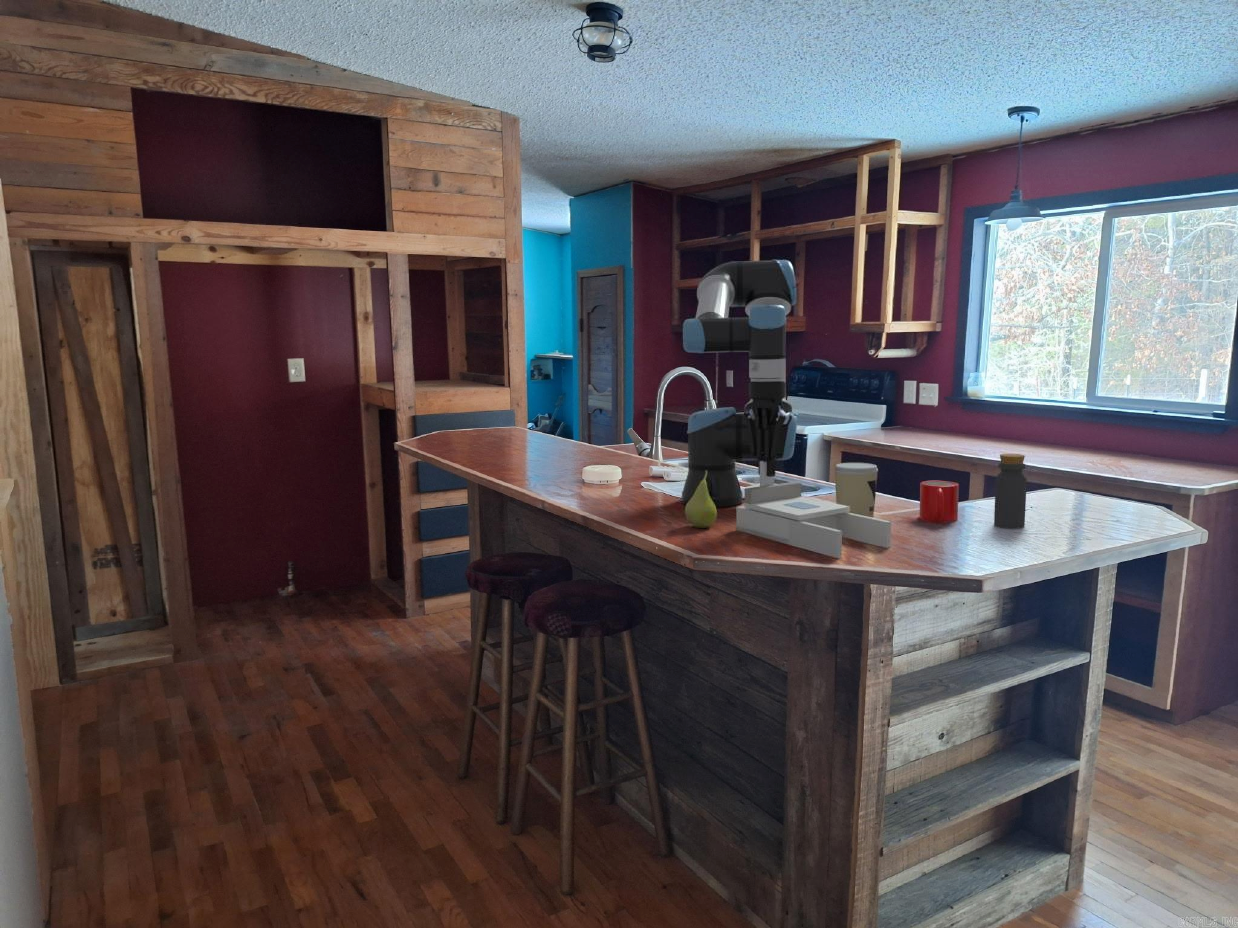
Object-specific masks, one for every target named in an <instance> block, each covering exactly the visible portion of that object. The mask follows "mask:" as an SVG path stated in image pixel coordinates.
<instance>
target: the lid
mask: <svg viewBox="0 0 1238 928" xmlns="http://www.w3.org/2000/svg"><path fill="white" fill-rule="evenodd" d="M744 506H745V508H749V509H753V510H757V511H761V512H765V513H769V514H774V515H778V516H782V517H786V518H790V519H794V520H804V519H809V518H815V517H821V516H827V515H833V514H838V513H844V512H850V506H845V505H840V504H836V503H835V502H830V501H824V500H820V499H815V498H811V497H807V496H806V497H805V496H802V482H799V481H791V482H790V481H789V482H783V483H776V484H775V483H774V485H767V486H760V485H759V486H754V487H748V488H744Z"/></svg>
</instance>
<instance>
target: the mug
mask: <svg viewBox="0 0 1238 928" xmlns="http://www.w3.org/2000/svg"><path fill="white" fill-rule="evenodd" d="M959 485H960V484H959V483H957V482H953V481H946V480H926V481H921V482H920V484H919V488H920V489H919V492H920V493H919V520H922V521H925V520H926V521H927V522H931V523H952V522H956V521H958V518H959V517H958V516H959V491H960V490H959V487H960V486H959Z"/></svg>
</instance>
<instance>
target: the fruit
mask: <svg viewBox="0 0 1238 928" xmlns="http://www.w3.org/2000/svg"><path fill="white" fill-rule="evenodd" d="M706 476H707V470H706V471H705V476H704V479H703V480H702V481H701V482H700V484H699V486H698V487H697V489H696V491H695V493H694V495H693V496H692V498H691V499H690V500H689V502H688V503H687V505H686V504H685V508H684V513H685V516H686V519H687V521H688V522H689V523H690V524H691V525H692V526H694V527H695V528H698V529H699V528H700V529H705V528H708V527H710V526H712V525H713V524H714V523H715V521H716V520H717V513H718V512H717V507H715V504H714V503H713V501H712V499H711V498H710V496H709V493H708V489H707V483H706V481H705V479H706Z"/></svg>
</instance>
